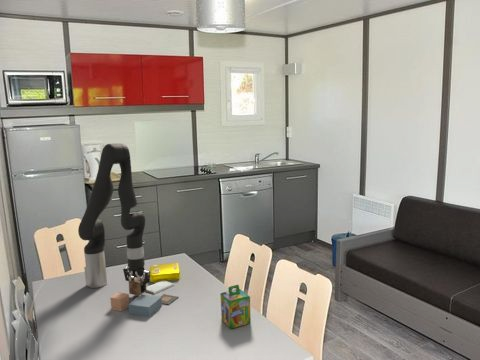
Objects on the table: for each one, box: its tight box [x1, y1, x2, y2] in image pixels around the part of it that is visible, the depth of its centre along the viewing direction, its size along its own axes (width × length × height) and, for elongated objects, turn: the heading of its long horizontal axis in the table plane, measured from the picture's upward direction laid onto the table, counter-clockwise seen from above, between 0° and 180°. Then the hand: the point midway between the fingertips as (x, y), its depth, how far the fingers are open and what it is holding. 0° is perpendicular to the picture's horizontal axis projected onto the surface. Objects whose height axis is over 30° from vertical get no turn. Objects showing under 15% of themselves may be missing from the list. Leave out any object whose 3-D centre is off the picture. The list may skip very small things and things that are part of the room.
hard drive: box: [146, 280, 175, 295], centre depth 201 cm, size 2×8×12 cm
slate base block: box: [128, 294, 163, 317], centre depth 179 cm, size 10×10×4 cm
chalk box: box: [219, 284, 252, 330], centre depth 165 cm, size 9×9×15 cm
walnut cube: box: [128, 277, 147, 297], centre depth 192 cm, size 6×6×6 cm
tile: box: [160, 293, 179, 306], centre depth 188 cm, size 8×8×1 cm
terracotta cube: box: [110, 292, 131, 312], centre depth 182 cm, size 6×6×6 cm
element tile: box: [149, 262, 181, 284], centre depth 216 cm, size 15×15×5 cm
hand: (137, 290), depth 192 cm, fingers closed on walnut cube, 5 cm apart
